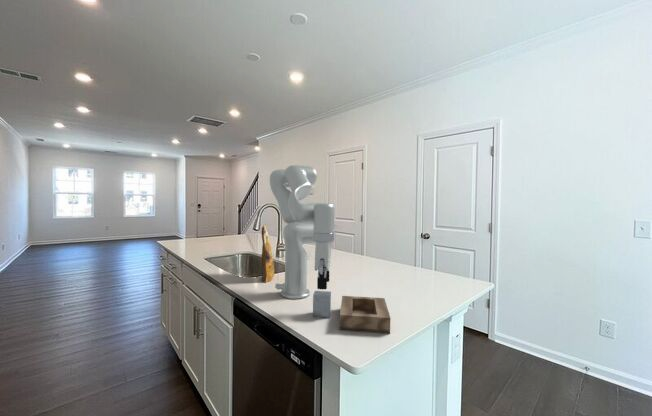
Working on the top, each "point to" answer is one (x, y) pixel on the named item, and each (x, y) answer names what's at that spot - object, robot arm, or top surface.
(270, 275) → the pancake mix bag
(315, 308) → the tall blue-grey block
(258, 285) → the top surface
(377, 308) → the walnut well
